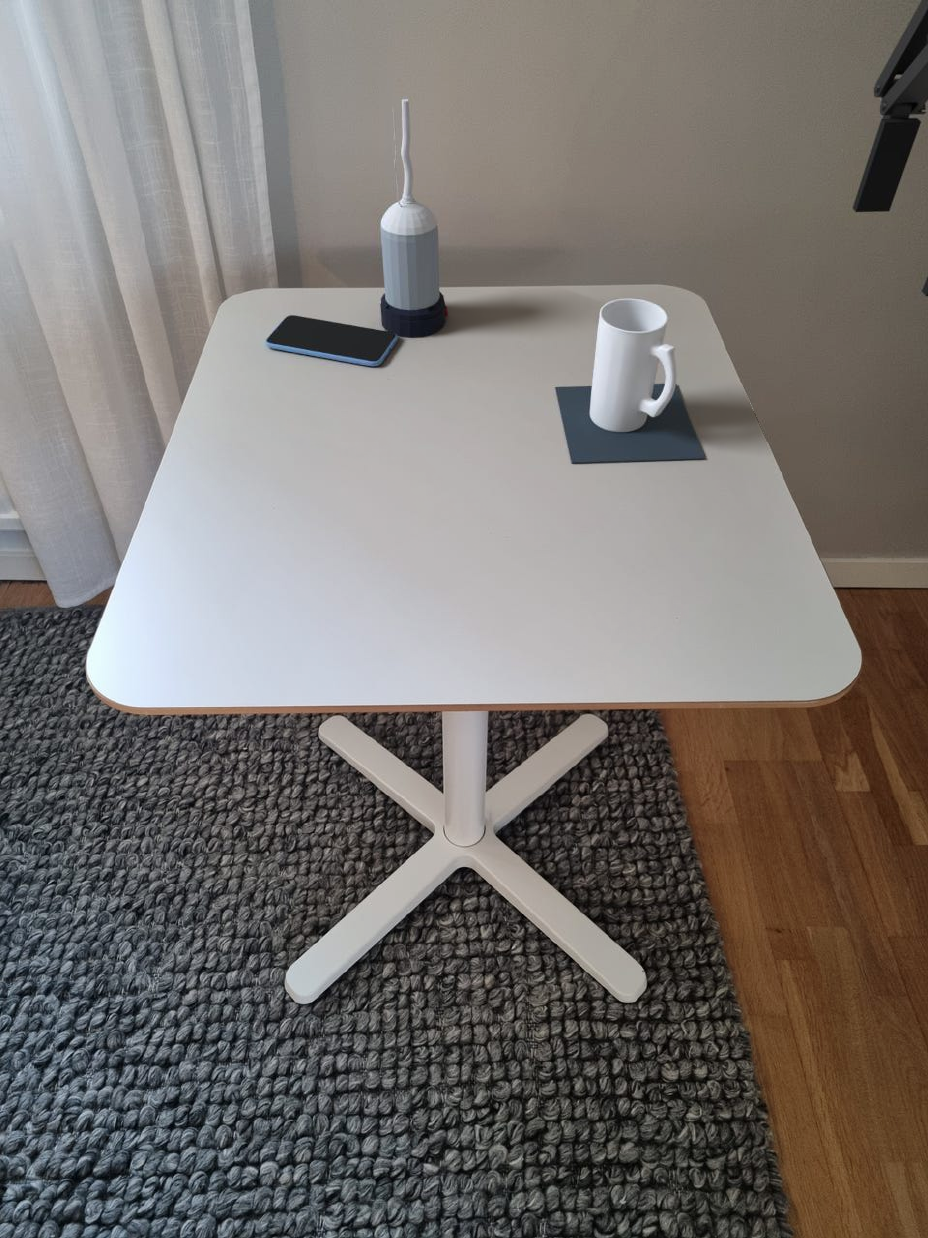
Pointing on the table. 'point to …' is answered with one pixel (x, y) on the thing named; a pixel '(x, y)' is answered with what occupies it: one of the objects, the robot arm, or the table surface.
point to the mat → (650, 442)
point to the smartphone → (332, 340)
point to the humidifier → (410, 259)
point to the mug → (630, 365)
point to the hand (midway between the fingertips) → (904, 249)
